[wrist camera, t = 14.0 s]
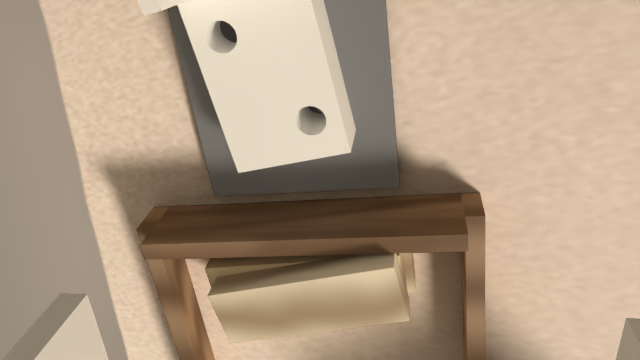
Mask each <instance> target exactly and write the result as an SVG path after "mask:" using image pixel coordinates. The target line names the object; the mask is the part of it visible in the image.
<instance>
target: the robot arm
mask: <svg viewBox="0 0 640 360" xmlns="http://www.w3.org/2000/svg"><path fill="white" fill-rule="evenodd" d="M2 360H109V359H108V356H107V353H106V350H105V347H104V344H103V341H102V338H101V335H100V332H99V329H98V326H97V323H96V320H95V317H94V314H93V311H92V308H91V305H90V302H89V299H88V296H87V294H69V293H68V294H67V293H60V294H59V295H58V296H57V298H56V299H55V300H54V301H53V302H52V303H51V304H50V306H49V307H48V308H47V309H46V310H45V311H44V312H43V314H42V315H41V316H40V317H39V318H38V319H37V320H36V322H35V323H34V324H33V325H32V326H31V327H30V328H29V329H28V331H27V332H26V333H25V334H24V335H23V337H21V339H20V340H19V341H18V342H17V343H16V344H15V346H14V347H13V348H12V349H11V350H10V351H9V352H8V353H7V355H6V356H5V357H4V358H3V359H2ZM616 360H640V319H634V318H626V321H625V325H624V329H623V333H622V337H621V341H620V346H619V350H618V354H617V358H616Z"/></svg>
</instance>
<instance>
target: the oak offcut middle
mask: <svg viewBox="0 0 640 360" xmlns="http://www.w3.org/2000/svg"><path fill="white" fill-rule="evenodd" d="M396 254H397V258H398V261H399V265H400V268H401V272H402V275H403V279H404V282H405V286H406V289H407V282H406V275H405V267H404V260H403V253H396ZM349 255H355V254H348V255H310V256H271V257H232V258H210V260H209V262H208V264H207V266H206V268H205V270H206V273H207V276H208V279H209V282H210V285H211V288H212V286H213V284H214V282H215V280H216V278H217V277H220V276H226V275H232V274H238V273H244V272H250V271H256V270H263V269H269V268H275V267H281V266H287V265H293V264H299V263H306V262H312V261H318V260H324V259H330V258H336V257H342V256H349ZM407 293H408V289H407Z"/></svg>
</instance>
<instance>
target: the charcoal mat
mask: <svg viewBox="0 0 640 360" xmlns="http://www.w3.org/2000/svg"><path fill="white" fill-rule="evenodd" d="M324 4H325V8H326V12H327V16H328V20H329V24H330V28H331V32H332V36H333V40H334V44H335V48H336V52H337V56H338V60H339V64H340V68H341V72H342V76H343V80H344V84H345V88H346V92H347V96H348V100H349V104H350V108H351V112H352V116H353V120H354V124H355V128H356V132H355V136H354V140H353V145H352V149H351V153H346V154H340V155H335V156H329V157H324V158H318V159H313V160H307V161H302V162H296V163H291V164H285V165H280V166H274V167H269V168H263V169H258V170H252V171H247V172H241V173H238V171H237V168H236V165H235V163H234V160H233V157H232V154H231V152H230V149H229V146H228V143H227V141H226V138H225V135H224V132H223V130H222V127H221V124H220V121H219V119H218V116H217V113H216V110H215V108H214V105H213V102H212V99H211V97H210V94H209V91H208V88H207V86H206V83H205V80H204V77H203V74H202V72H201V69H200V66H199V63H198V61H197V58H196V55H195V52H194V50H193V47H192V44H191V41H190V39H189V36H188V33H187V30H186V28H185V25H184V22H183V19H182V17H181V14H180V11H179V8H178V6H177V5H175V6H172V7H170V8H167V9H168V13H169V17H170V21H171V25H172V29H173V33H174V37H175V41H176V45H177V49H178V53H179V57H180V61H181V64H182V68H183V72H184V76H185V80H186V84H187V88H188V92H189V96H190V100H191V104H192V108H193V112H194V116H195V120H196V124H197V128H198V132H199V136H200V140H201V144H202V148H203V152H204V156H205V160H206V164H207V168H208V172H209V176H210V180H211V184H212V188H213V192H214V196H232V195H253V194H273V193H294V192H314V191H335V190H355V189H376V188H396V187H400V181H399V168H398V155H397V142H396V129H395V115H394V102H393V89H392V76H391V63H390V49H389V36H388V23H387V10H386V0H324ZM220 30H221V32H222V34H223V36H224V37H225V38H226V39H227V40H229V41H231V42H237V35H236V32H235V30H234V28H233V27H232V26H231V25H230V24H229V23H227V22H225V21H220ZM308 108H309V109H310V110H311V111H313V112H315V113H318V114H323V112H322V111H321V110H320V109H318V108H316V107H313V106H308Z"/></svg>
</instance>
